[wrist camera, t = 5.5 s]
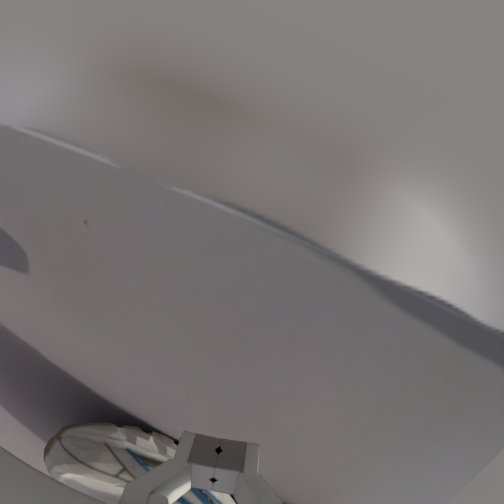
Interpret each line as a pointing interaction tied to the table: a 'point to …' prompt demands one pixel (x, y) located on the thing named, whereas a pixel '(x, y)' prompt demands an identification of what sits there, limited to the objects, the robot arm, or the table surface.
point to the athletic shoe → (113, 461)
